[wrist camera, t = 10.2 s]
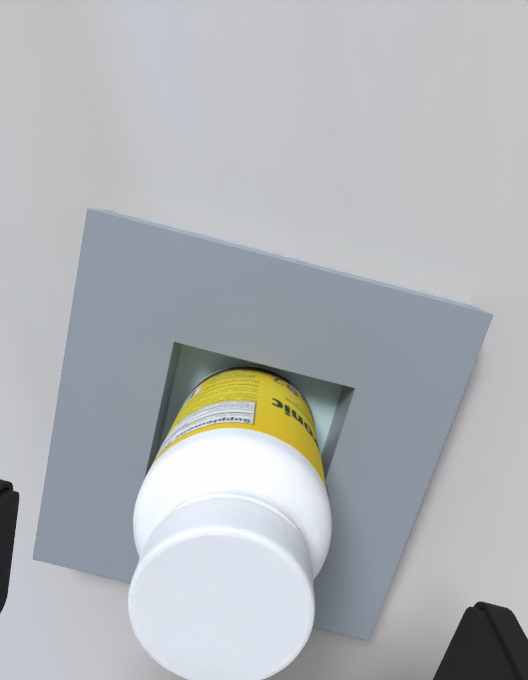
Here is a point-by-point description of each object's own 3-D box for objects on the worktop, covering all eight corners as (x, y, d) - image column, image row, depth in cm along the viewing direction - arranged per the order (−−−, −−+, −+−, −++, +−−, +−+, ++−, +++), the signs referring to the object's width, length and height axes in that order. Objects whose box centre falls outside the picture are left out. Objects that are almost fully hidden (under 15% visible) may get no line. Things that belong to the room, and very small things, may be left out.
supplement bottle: (328, 466, 20) (373, 692, 10) (204, 494, 20) (138, 736, 11) (295, 344, 19) (313, 473, 9) (164, 378, 19) (50, 533, 10)
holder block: (113, 210, 18) (87, 208, 16) (465, 302, 18) (493, 315, 16) (60, 520, 21) (32, 559, 19) (358, 594, 22) (368, 640, 19)
